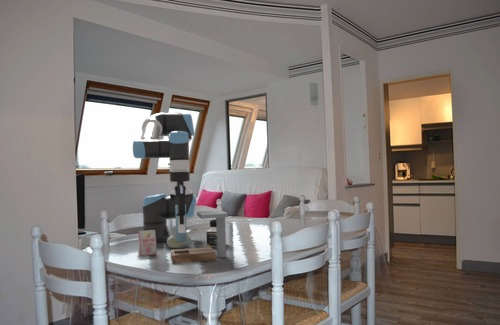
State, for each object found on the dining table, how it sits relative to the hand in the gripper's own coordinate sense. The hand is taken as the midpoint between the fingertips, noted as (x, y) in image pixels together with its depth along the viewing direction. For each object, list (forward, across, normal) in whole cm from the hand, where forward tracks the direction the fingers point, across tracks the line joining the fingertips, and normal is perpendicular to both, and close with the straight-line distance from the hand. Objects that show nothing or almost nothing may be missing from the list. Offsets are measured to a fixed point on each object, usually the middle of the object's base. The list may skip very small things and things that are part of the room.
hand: (181, 231), depth 152 cm
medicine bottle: (+11, -25, +18) cm, 33 cm away
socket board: (+11, 0, +4) cm, 11 cm away
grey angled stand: (+11, 0, +12) cm, 16 cm away
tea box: (+11, -17, -13) cm, 24 cm away
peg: (+4, 0, 0) cm, 4 cm away
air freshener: (+11, -27, +1) cm, 29 cm away
